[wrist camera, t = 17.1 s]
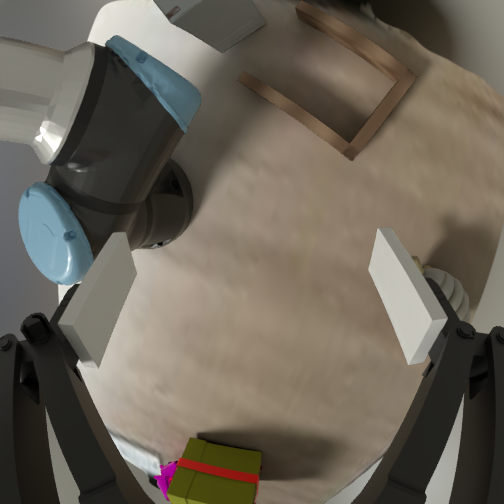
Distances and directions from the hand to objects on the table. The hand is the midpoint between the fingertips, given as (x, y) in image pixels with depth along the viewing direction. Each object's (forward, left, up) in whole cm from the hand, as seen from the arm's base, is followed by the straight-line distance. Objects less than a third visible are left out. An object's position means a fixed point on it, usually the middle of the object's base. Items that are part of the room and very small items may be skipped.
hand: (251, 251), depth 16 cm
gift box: (+9, -68, -28) cm, 74 cm away
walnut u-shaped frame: (-3, +16, -28) cm, 32 cm away
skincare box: (-18, +19, -28) cm, 38 cm away
